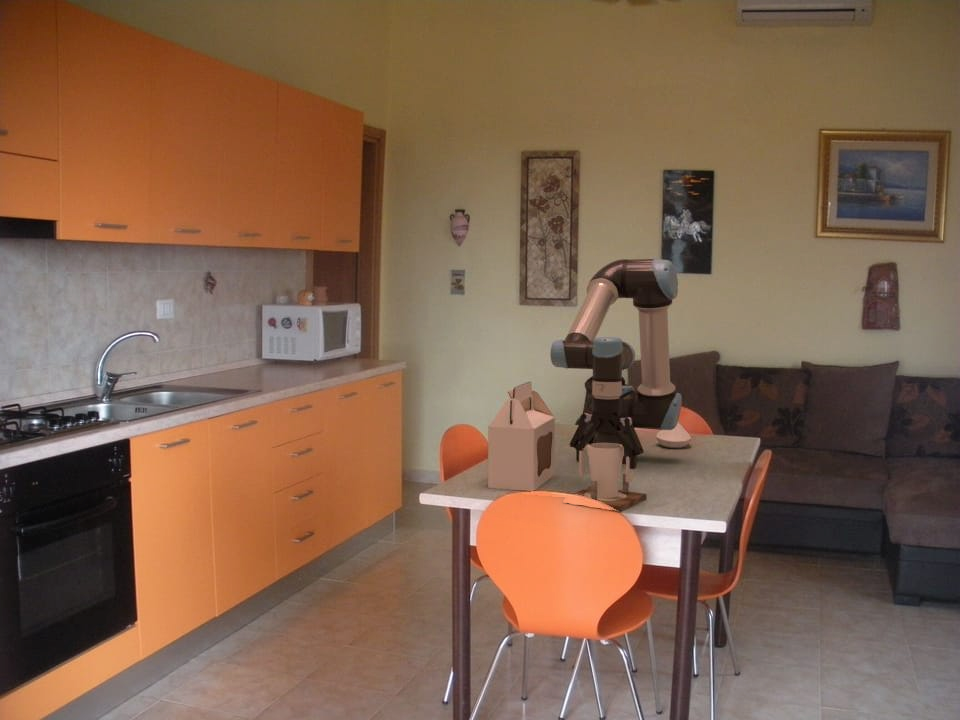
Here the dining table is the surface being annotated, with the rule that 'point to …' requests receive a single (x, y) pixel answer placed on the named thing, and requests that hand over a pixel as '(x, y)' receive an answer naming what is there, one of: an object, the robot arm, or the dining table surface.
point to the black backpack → (589, 405)
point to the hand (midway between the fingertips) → (605, 477)
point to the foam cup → (606, 467)
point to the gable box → (521, 442)
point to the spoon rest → (673, 437)
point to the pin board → (620, 502)
